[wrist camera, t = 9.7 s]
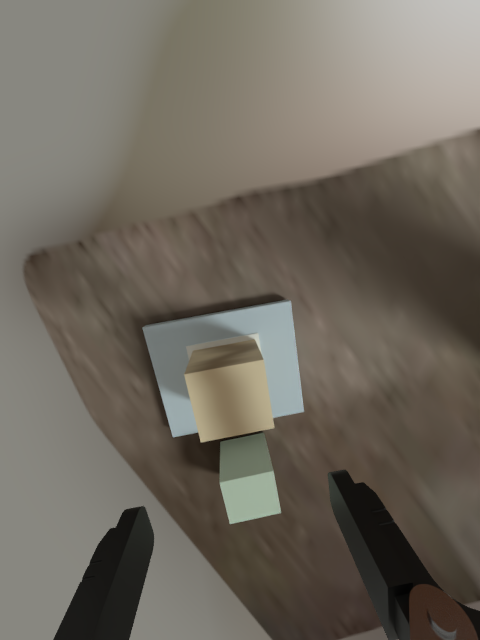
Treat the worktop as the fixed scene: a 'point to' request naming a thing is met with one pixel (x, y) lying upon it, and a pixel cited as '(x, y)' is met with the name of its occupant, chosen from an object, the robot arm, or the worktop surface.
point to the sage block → (247, 479)
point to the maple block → (229, 390)
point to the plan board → (221, 329)
